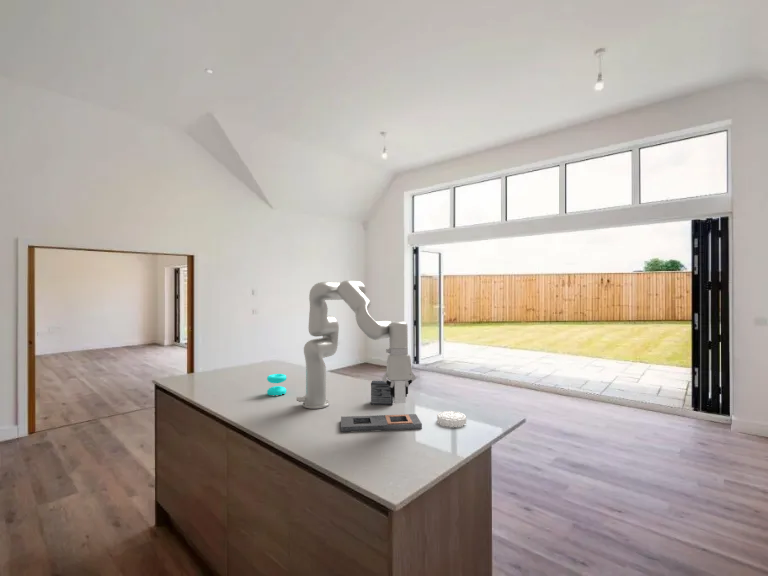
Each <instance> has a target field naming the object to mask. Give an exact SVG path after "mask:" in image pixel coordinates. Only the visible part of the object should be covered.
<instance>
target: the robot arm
mask: <svg viewBox="0 0 768 576" xmlns="http://www.w3.org/2000/svg"><path fill="white" fill-rule="evenodd" d="M366 290H367V289H366V286H365V284H364V283H363V282H362V281H360V280H343V281H340V282H339V281H337V282H336V281H322V282H317V283H315V284H314V285H313V286H312V287H311V288H310V290H309V296H308V297H309V298H308V299H309V312H308V313H309V315H308V332H309V334H310V336H312V337H321V338H314V339H310V340H308V341H307V342H306V343H305V344H304V347H303V355H304V360H305V395H303V396H296V402H298V403H302V407H303V408H306V409H310V410H311V409H312V410H313V409H314V410H315V409H316V410H317V409H324V408H327V407H329V406H330V401H329V400H327V366H326V364H325V361H324V358H330V357H331V356H334V355H335V354H336V352H337V351H338V350H337V349H338V346H339V345H338V343H339V342H338V341H339V326H340V325H339V322H338V320H337V318H336V317H334V316H332V315H328V311H329V310H328V309H329V308H328V304H327V302H326V301H333V300H334V301H336V300H337V301H339V300H343V302H345V303H346V305H348V307H349V308H350V309H351V310H352V311H353V313H354V314H355V320H356V323H357V326H358V327H359V329H360V330H361V331H362V332H363V334H365V336H367V338H369V339H371V340H373V341H374V340H375V341H376V340H383V339H389V343H388V344H389V347H388V348H387V349H386V350H385V353H388V355H387V358H386V359H387V360H386V372H385V373H384V375H383V376H382V377H381V381H384V382H386V383H387V384H388V385H389V386H390V392H391V395H392V397H395V395H394V381H397V380H405V394H406V398H407V397H408V394H409V386H410V385H412V383H413V382H414V381H415V380H416V379H417V377H416V375H415V374H414V373H413V369H412V361H411V360H412V359H411V355H410V354H409V351H408V350H409V349H408V348H409V347H408V346H409V345H408V344H409V341H408V340H409V339H408V338H409V335H408V323H407V322H405V321H393V320H385V319H384V320H377V321H376V320H375V319H374V318H373V317H372V316H371V315H370V314H369V312H368V310H369V308H370V307H371V300H370V299H369V298H368V297H367V296H366V293H367V291H366Z"/></svg>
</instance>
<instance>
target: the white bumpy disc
mask: <svg viewBox="0 0 768 576" xmlns="http://www.w3.org/2000/svg"><path fill="white" fill-rule="evenodd" d="M436 415H437V416H436V419H437V420H436V421H437V424H438V425H440V426H442V425H443V426H442V427H445V426H450V427H449V428H451V427H452V428H454V427H457V426H462V427H464V426H465V425H464V424H467V416H466V414H464V413H463V412H460V411H454V410H445V411H440V412H438V414H436ZM463 425H464V426H463ZM453 426H454V427H453ZM457 428H458V427H457Z"/></svg>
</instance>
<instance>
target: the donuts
mask: <svg viewBox="0 0 768 576" xmlns="http://www.w3.org/2000/svg"><path fill="white" fill-rule="evenodd" d="M266 380H267V382H268V383H270V384H281V383H284V382H286V380H287V375H286V374H284V373H273V374H269V375H268V376H267V378H266ZM266 393H267V395H268V396H270V395H274V396H273V397H276V396H275V395H281V396H283V395H282V394H284V395H285V394H286V393H287V388H286V387H284V386H281V385H274V386H271V387H269V388H268V389H267V391H266Z"/></svg>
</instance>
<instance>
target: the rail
mask: <svg viewBox="0 0 768 576" xmlns="http://www.w3.org/2000/svg"><path fill="white" fill-rule="evenodd" d="M422 426H423V424H422V421H421V420H420V418H419V416H418V415H417V413H409V414H405V413H404V414H383V415H382V414H381V415H380V414H378V415H358V416H357V415H355V416H354V415H352V416H351V415H350V416H348V415H347V416H341V417H340V432H341V433H352V432H351V431H357V432H372V431H371V430H381V431H398V430H399V431H401V430H400V429H406V430H422V429H423V427H422Z"/></svg>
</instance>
